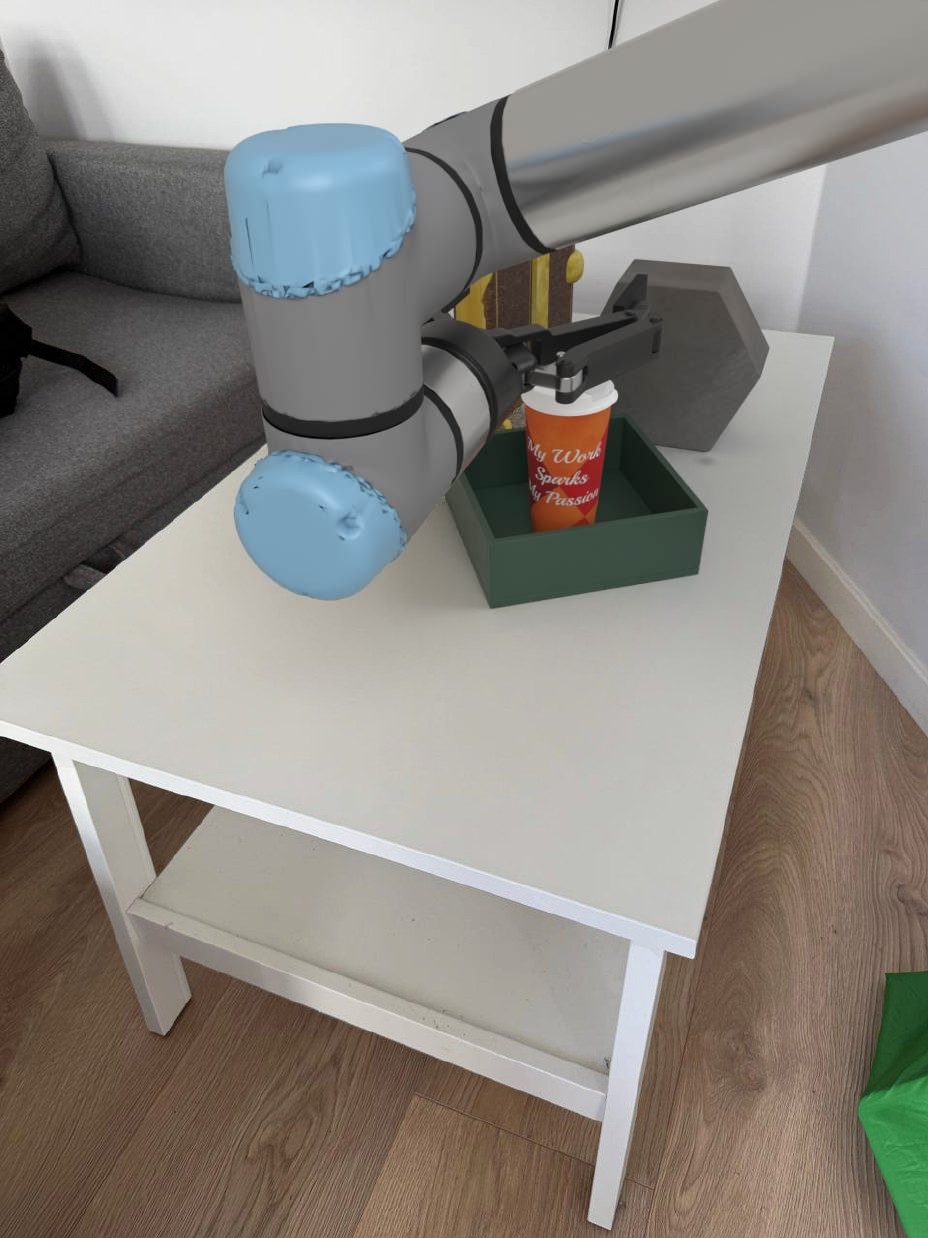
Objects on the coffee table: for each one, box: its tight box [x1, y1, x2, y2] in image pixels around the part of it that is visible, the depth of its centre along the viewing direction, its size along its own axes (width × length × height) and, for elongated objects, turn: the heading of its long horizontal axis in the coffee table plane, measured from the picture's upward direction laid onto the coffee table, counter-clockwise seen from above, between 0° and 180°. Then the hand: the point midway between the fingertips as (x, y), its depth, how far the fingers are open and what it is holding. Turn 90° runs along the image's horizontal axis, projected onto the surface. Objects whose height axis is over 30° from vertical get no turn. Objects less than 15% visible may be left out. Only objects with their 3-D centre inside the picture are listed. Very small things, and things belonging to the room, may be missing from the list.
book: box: [452, 244, 585, 414], centre depth 107 cm, size 22×8×25 cm, turn 148°
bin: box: [444, 413, 709, 609], centre depth 86 cm, size 19×19×7 cm
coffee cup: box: [521, 380, 618, 533], centre depth 83 cm, size 8×8×15 cm
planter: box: [599, 258, 770, 453], centre depth 99 cm, size 17×8×21 cm
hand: (550, 283), depth 67 cm, fingers open, 13 cm apart
